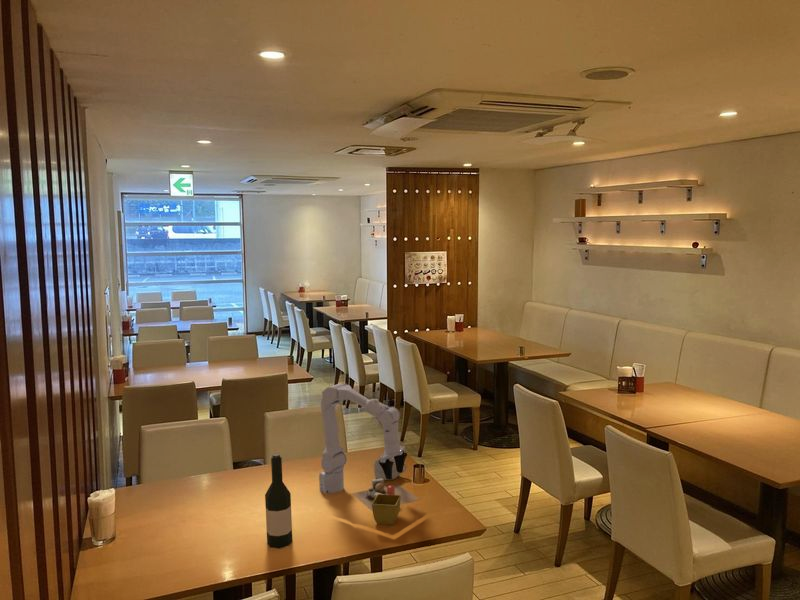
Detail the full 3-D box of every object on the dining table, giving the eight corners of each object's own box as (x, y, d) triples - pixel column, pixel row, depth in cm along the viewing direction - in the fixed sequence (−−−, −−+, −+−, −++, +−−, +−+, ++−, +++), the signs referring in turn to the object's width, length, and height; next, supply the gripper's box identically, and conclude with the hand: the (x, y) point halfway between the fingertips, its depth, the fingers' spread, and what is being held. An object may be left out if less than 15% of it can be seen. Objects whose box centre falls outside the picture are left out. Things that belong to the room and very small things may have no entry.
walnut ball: (377, 494, 237) (377, 485, 236) (373, 491, 240) (373, 482, 240) (386, 492, 238) (385, 484, 238) (382, 489, 242) (381, 481, 241)
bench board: (372, 514, 222) (372, 510, 222) (352, 496, 239) (351, 493, 239) (419, 502, 231) (419, 499, 231) (397, 486, 248) (396, 482, 248)
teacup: (370, 483, 252) (369, 464, 252) (378, 473, 263) (378, 455, 262) (402, 485, 248) (401, 466, 248) (409, 476, 259) (409, 458, 258)
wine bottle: (281, 534, 208) (277, 449, 205) (297, 541, 202) (294, 453, 200) (261, 543, 201) (257, 455, 199) (278, 551, 196) (274, 460, 194)
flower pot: (396, 530, 208) (395, 505, 208) (372, 528, 210) (371, 503, 210) (401, 519, 217) (401, 495, 216) (378, 517, 219) (377, 493, 218)
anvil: (373, 491, 240) (372, 481, 240) (371, 489, 242) (371, 479, 242) (383, 489, 242) (383, 479, 241) (382, 487, 244) (382, 478, 243)
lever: (364, 496, 234) (364, 481, 234) (370, 493, 237) (369, 478, 237) (391, 504, 226) (391, 488, 226) (397, 500, 229) (396, 486, 229)
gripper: (389, 446, 221) (392, 483, 221) (410, 435, 233) (413, 470, 233) (374, 444, 224) (376, 480, 225) (395, 434, 236) (398, 468, 237)
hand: (394, 475), depth 229 cm, fingers open, 7 cm apart
